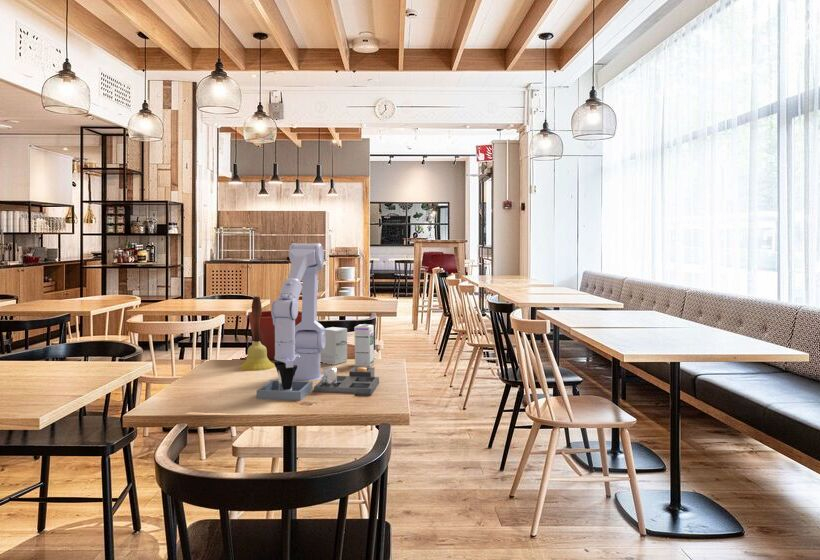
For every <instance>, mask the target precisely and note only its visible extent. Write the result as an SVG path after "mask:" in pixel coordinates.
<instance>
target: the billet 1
mask: <svg viewBox="0 0 820 560" xmlns="http://www.w3.org/2000/svg"><path fill="white" fill-rule="evenodd" d="M277 376H278V377H277V378H278V379H277V380H278V387H279V391H293V381H294V380H293V381H292V386H291V389H288V390H283V387H282V381H281V376H280V372H279V370H278V372H277Z"/></svg>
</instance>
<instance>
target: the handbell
mask: <svg viewBox="0 0 820 560" xmlns="http://www.w3.org/2000/svg"><path fill="white" fill-rule="evenodd" d="M251 303H252V304H251V312H252V317H253V320H254V339H253V343H252V345H249V346H248V348H247V355H246V356H247V358H246V359H245V360H244V362H243V363H242V364H241V365H240V366H239V369H240V370H242V371H248V372H249V371H251V372H253V371H254V372H259V371H266V370H271V369H274V368H276V367H275V365H274V362H272V360H269V359H268V358H267V349H266V347H265V346H264V345H262V344H261V342H260V318H261V314H262V311H263V309H262V303H261V297H260V296H253V298H252V302H251Z"/></svg>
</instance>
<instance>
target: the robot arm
mask: <svg viewBox="0 0 820 560" xmlns="http://www.w3.org/2000/svg"><path fill="white" fill-rule="evenodd" d="M324 256H325V252H324V247H323V245H322V244H321V243H320V242H317V243H295V242H292V243H291V244H290V245H289V248H288V258H289V261H290V265H291V266H290V270H289V275H288V278H287V279H285V280H284V281H283V282H282V286H281V288H280V292H279V293H278V297H277V299H276V300H274V301H273V302H272V304H271V310H270V311H271V314H272V318H273V325H275V356H274V360H275V361H273V364H274V365H275V367H274V368H275V369H276V372H277V373H278V370H279V372H280V376H281V381H282V387H283V390H288V389H291V386H292V381H294V380H298V381H319V380H320V379H321V380H322V379H323V373H321V372H322V371H321V370H322V369H321V364H322V363H320V351H322V350H323V349H324V348H325V344H326V336H325V327H324V326H323V325H322V324H321V323H320V322H319V321H318V320H317V319H318V318H317V317H318V315H317V314H318V283H319V282H318V280H319V279H318V278H319V277H318V276H319V271H320V270H322V269H323V268H324V260H325V259H324ZM301 281H302V283H301ZM301 292H302V294H301ZM301 295H302V296H301ZM300 296H301V297H302V300H301V312H302V321H301V322H300V323H299V324H298V325H296V326H295V319H296V318H297V315H298V311H299V305H300V303H299V300H300ZM302 330H305V331H302ZM295 350H296V351H295Z"/></svg>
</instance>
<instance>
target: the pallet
mask: <svg viewBox="0 0 820 560" xmlns="http://www.w3.org/2000/svg"><path fill="white" fill-rule="evenodd" d="M379 384H380V376H374V377H361V376H349V375H337V387H323V378H321V380H320V381H319V382H318V383H316V385H314V387H313V392H314V393H317V392H318V393H335V394H336V393H338V394H339V393H340V394H341V393H342V394H354V396H372V395H373V393H374V392H375V391H376V389H377V388H378V386H379Z"/></svg>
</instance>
